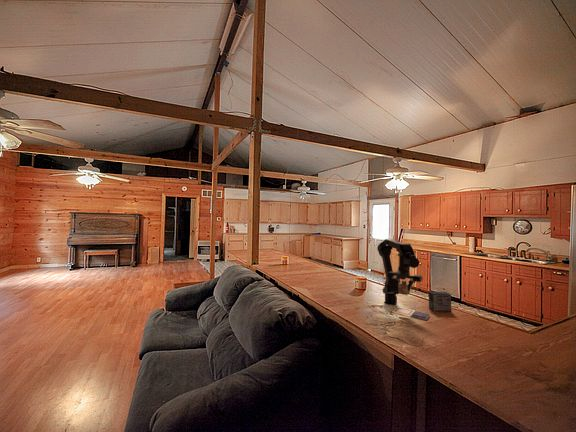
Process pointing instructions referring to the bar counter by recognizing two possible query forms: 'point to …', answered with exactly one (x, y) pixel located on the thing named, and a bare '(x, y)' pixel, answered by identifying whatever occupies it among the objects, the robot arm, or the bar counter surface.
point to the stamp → (403, 288)
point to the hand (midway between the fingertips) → (404, 290)
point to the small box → (440, 301)
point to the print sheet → (403, 311)
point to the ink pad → (420, 315)
